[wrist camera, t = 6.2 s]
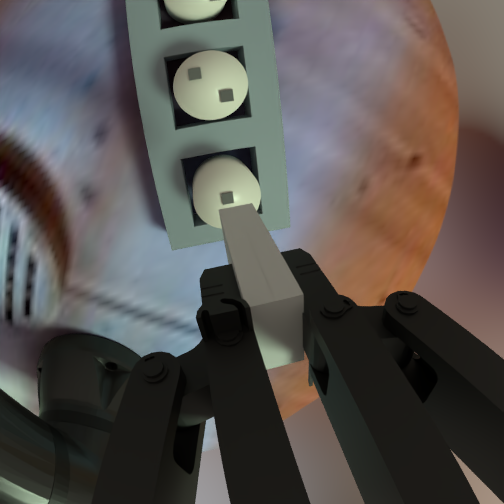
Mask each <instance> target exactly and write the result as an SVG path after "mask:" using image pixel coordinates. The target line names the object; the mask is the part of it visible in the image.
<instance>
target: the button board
mask: <svg viewBox="0 0 504 504" xmlns="http://www.w3.org/2000/svg"><path fill="white" fill-rule="evenodd" d="M231 6H232V14H233V19H229V20H219V21H210V22H202V23H195V24H189V25H183V26H177V27H172V28H167V29H162V22H161V13H160V4H159V0H126V11H127V22H128V31H129V40H130V48H131V56H132V63H133V70H134V77H135V83H136V90H137V96H138V102H139V107H140V113H141V118H142V124H143V129H144V134H145V139H146V144H147V149H148V154H149V159H150V163H151V168H152V172H153V177H154V181H155V185H156V190H157V194H158V198H159V202H160V206H161V210H162V214H163V218H164V222H165V226H166V230H167V234H168V237H169V241H170V245H171V248H172V250H177V249H182V248H187V247H192V246H197V245H202V244H207V243H212V242H217V241H222V240H224V237H223V232H222V229H221V228H216V227H213V226H211V225H209V224H207V223H206V222H204V221H203V220H202V219H201V218H200V217H199V215H198V214H193V209H192V205H191V200H190V195H189V190H188V185H187V180H186V175H185V169H184V164H183V159H184V158H189V157H194V156H200V155H205V154H210V153H216V152H222V151H228V150H234V149H240V148H247V147H249V148H250V157H251V165H252V174H253V175H254V177H255V178H256V180H257V181H258V183H259V186H260V190H261V200H260V204H259V207H258V209H257V213H258V214H259V216H260V218H261V219H262V221H263V223H264V225H265V226H266V228H267V230H268V231H273V230H278V229H283V228H289V227H290V214H289V199H288V185H287V171H286V159H285V147H284V135H283V124H282V114H281V103H280V94H279V84H278V75H277V66H276V58H275V50H274V42H273V34H272V26H271V19H270V12H269V4H268V0H231ZM209 50H215V51H221V52H230V51H237V52H238V60H239V62H240V63H241V65H242V66H243V67H244V69H245V71H246V74H247V78H248V90H247V94H246V97H245V99H244V107H245V115H242V116H234V117H228V118H221V119H216V120H209V121H203V122H198V123H192V124H187V125H182V126H177V125H176V120H175V114H174V108H173V101H172V95H171V89H170V82H169V75H168V68H167V61H171V60H176V59H182V58H187V57H191V56H192V55H194V54H196V53H199V52H203V51H209Z"/></svg>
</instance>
